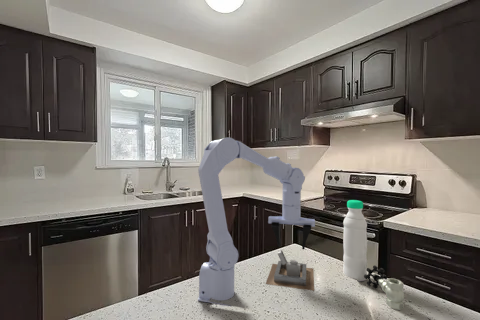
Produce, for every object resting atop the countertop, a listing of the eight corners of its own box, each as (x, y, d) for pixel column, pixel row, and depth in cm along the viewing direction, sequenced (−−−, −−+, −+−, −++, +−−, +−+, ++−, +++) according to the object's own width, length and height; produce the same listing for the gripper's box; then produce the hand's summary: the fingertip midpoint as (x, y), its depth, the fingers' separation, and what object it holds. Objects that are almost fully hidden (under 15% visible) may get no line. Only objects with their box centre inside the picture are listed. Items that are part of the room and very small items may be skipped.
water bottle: (356, 271, 86) (356, 198, 86) (372, 280, 79) (372, 202, 79) (338, 273, 84) (338, 199, 84) (353, 283, 77) (353, 203, 77)
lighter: (300, 277, 79) (300, 252, 79) (299, 279, 77) (299, 254, 77) (278, 273, 81) (278, 249, 81) (277, 276, 79) (277, 251, 79)
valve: (412, 311, 63) (385, 287, 75) (412, 285, 63) (385, 265, 75) (386, 311, 63) (363, 286, 75) (386, 285, 63) (363, 265, 75)
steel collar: (274, 282, 76) (274, 275, 76) (278, 266, 87) (278, 260, 87) (305, 286, 73) (305, 279, 73) (306, 269, 84) (306, 263, 84)
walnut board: (265, 287, 75) (265, 283, 75) (272, 266, 89) (272, 263, 89) (314, 294, 71) (314, 290, 71) (313, 271, 85) (313, 268, 85)
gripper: (314, 203, 81) (314, 245, 81) (270, 201, 85) (270, 240, 85) (315, 207, 75) (314, 252, 75) (267, 205, 79) (267, 247, 79)
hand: (291, 247), depth 80 cm, fingers open, 7 cm apart
